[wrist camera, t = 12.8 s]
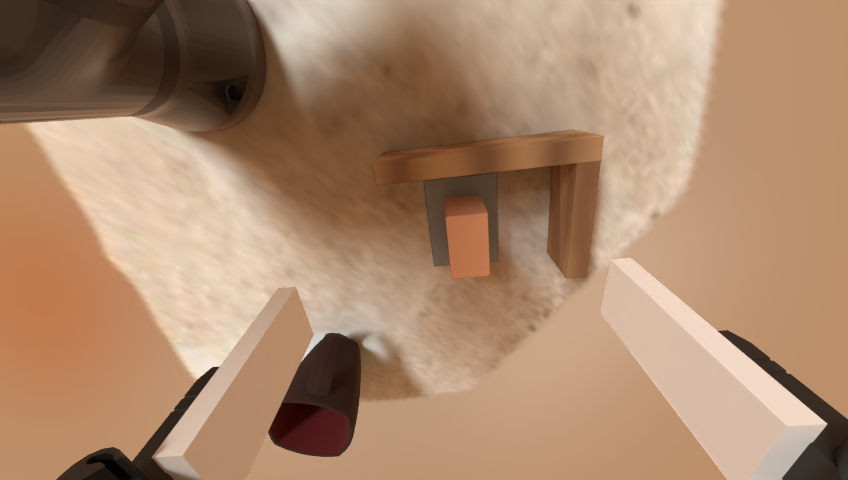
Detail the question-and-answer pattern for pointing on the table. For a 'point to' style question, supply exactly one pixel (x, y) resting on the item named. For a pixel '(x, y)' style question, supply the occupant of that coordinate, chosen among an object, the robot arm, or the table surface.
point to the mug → (321, 400)
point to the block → (467, 236)
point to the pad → (457, 188)
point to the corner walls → (564, 151)
